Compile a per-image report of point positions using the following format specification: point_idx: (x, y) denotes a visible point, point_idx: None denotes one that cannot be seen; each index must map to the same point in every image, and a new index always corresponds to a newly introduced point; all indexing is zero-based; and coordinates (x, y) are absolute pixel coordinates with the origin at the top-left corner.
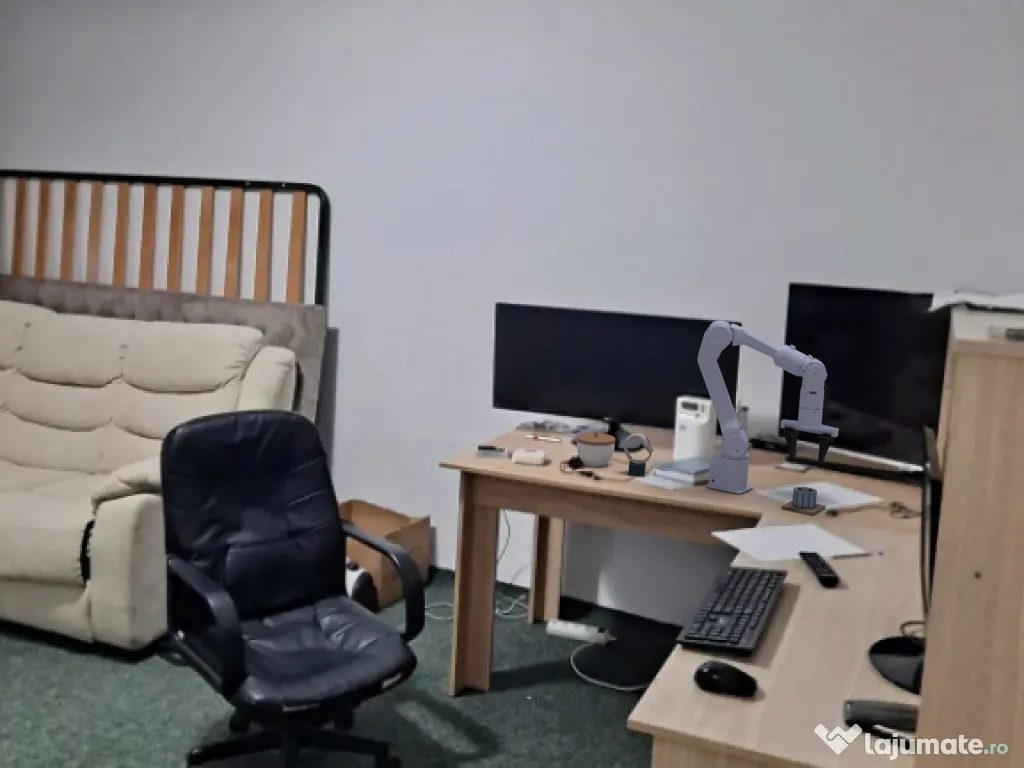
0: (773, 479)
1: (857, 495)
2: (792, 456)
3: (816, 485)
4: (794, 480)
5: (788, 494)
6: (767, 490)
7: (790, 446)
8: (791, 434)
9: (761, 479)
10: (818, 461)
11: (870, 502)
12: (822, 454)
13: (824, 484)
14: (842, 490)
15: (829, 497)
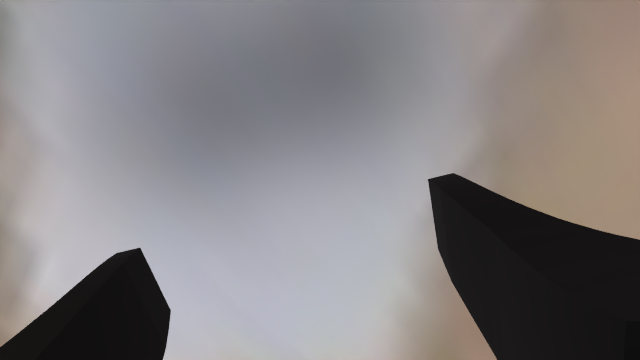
0: None
1: None
2: (433, 194)
3: (369, 316)
4: None
5: (352, 56)
6: (487, 10)
7: (495, 220)
8: (602, 350)
9: (625, 172)
10: (129, 254)
11: (25, 311)
12: (46, 318)
13: (357, 355)
14: (244, 350)
15: (185, 212)
